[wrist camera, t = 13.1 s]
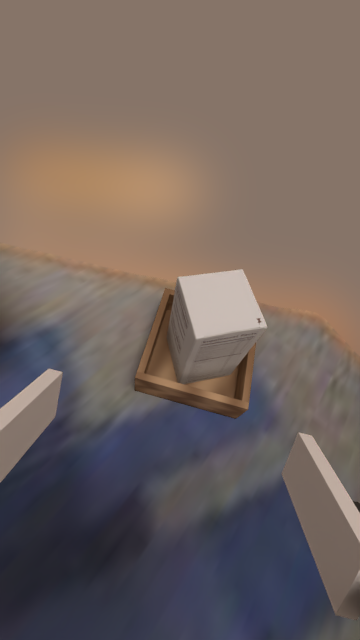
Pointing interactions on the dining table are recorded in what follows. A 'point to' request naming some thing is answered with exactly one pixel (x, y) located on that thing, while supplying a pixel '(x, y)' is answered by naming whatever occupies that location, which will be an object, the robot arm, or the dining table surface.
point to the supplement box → (212, 325)
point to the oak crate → (208, 395)
